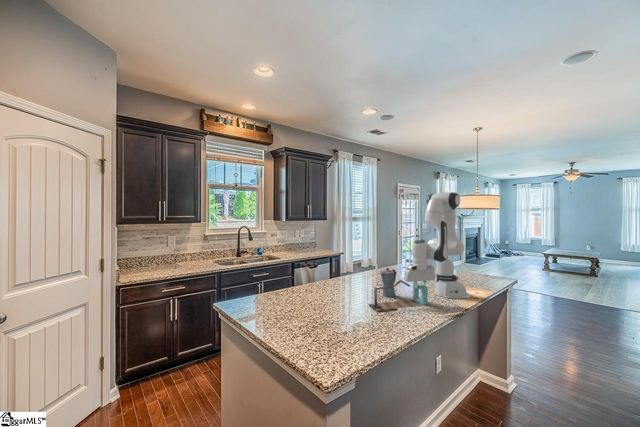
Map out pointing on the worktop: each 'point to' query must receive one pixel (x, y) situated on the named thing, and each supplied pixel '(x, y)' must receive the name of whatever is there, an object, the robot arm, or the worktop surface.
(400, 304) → the board
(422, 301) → the teal square frame
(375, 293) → the wire
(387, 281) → the moka pot
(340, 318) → the worktop surface
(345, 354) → the worktop surface
